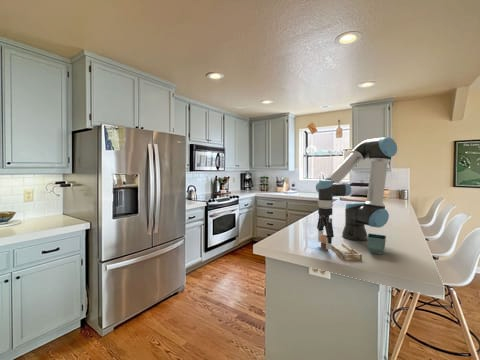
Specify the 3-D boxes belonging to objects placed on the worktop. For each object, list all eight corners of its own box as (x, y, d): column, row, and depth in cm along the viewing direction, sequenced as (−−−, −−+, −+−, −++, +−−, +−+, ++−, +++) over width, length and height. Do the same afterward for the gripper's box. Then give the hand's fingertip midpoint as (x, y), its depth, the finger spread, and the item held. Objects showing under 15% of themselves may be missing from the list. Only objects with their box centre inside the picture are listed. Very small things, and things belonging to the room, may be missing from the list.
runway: (342, 246, 143) (342, 242, 143) (352, 253, 131) (352, 249, 131) (329, 246, 143) (329, 242, 143) (337, 253, 131) (337, 249, 131)
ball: (327, 242, 140) (327, 233, 140) (330, 245, 135) (330, 236, 135) (318, 242, 140) (318, 233, 140) (321, 245, 135) (321, 236, 135)
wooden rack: (353, 253, 131) (353, 248, 131) (361, 259, 122) (362, 254, 122) (336, 253, 131) (336, 248, 131) (343, 260, 122) (343, 254, 122)
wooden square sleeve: (326, 248, 140) (326, 242, 140) (328, 250, 136) (328, 244, 136) (320, 248, 140) (320, 242, 139) (322, 250, 136) (322, 244, 136)
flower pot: (385, 256, 127) (385, 239, 127) (366, 253, 132) (366, 236, 131) (385, 251, 135) (386, 235, 134) (367, 248, 139) (368, 233, 139)
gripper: (312, 204, 149) (311, 238, 150) (326, 211, 125) (325, 252, 126) (324, 204, 149) (323, 238, 150) (341, 211, 125) (340, 252, 126)
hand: (324, 245), depth 138 cm, fingers open, 12 cm apart
